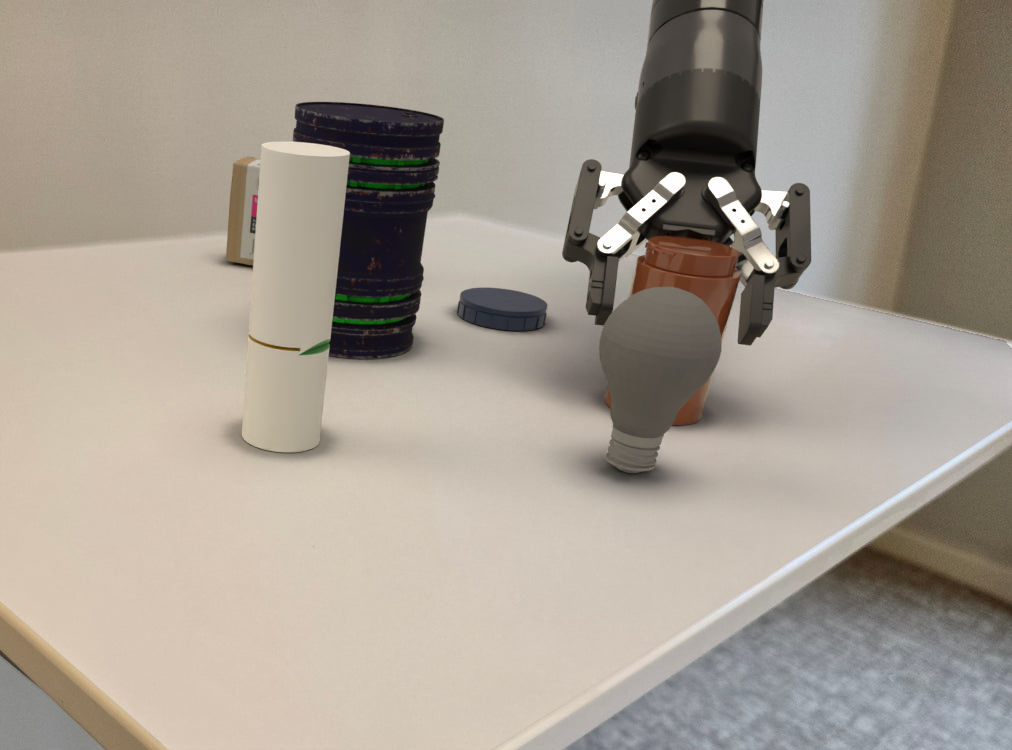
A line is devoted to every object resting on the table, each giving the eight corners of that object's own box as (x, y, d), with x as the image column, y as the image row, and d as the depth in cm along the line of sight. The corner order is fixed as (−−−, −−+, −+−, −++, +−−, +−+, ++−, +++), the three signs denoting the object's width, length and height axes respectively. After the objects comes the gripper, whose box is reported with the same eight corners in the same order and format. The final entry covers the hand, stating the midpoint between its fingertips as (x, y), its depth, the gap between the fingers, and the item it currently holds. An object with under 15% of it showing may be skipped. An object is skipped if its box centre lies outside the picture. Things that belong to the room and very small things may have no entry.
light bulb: (653, 448, 62) (698, 275, 57) (705, 493, 57) (759, 307, 52) (556, 447, 61) (593, 271, 56) (600, 493, 56) (646, 303, 51)
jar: (637, 385, 72) (675, 230, 67) (719, 414, 68) (765, 252, 63) (585, 400, 68) (621, 238, 64) (668, 432, 65) (713, 262, 60)
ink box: (223, 263, 92) (229, 161, 88) (238, 254, 95) (244, 155, 92) (338, 281, 90) (349, 177, 86) (349, 272, 93) (360, 171, 89)
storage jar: (301, 361, 71) (324, 119, 64) (257, 317, 79) (272, 98, 72) (438, 357, 74) (473, 126, 67) (381, 315, 82) (408, 105, 75)
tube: (249, 452, 57) (270, 153, 50) (235, 422, 60) (254, 139, 53) (327, 452, 57) (360, 158, 50) (310, 422, 61) (337, 144, 54)
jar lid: (473, 329, 81) (476, 310, 80) (446, 304, 86) (448, 285, 86) (557, 332, 82) (561, 313, 81) (525, 307, 88) (528, 288, 87)
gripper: (596, 52, 66) (566, 280, 62) (836, 76, 65) (824, 313, 60) (574, 134, 74) (546, 343, 69) (790, 157, 72) (776, 374, 67)
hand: (676, 329), depth 64 cm, fingers open, 8 cm apart
